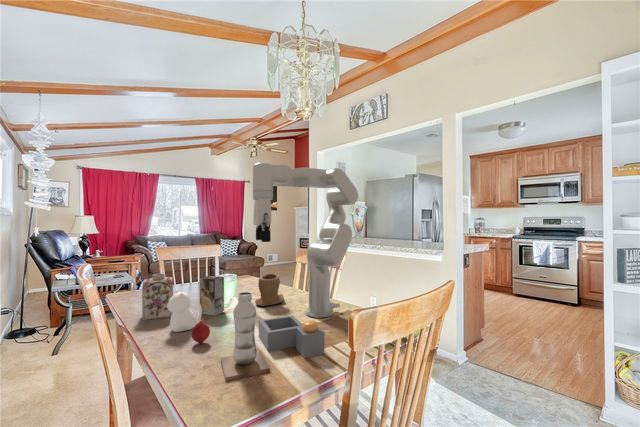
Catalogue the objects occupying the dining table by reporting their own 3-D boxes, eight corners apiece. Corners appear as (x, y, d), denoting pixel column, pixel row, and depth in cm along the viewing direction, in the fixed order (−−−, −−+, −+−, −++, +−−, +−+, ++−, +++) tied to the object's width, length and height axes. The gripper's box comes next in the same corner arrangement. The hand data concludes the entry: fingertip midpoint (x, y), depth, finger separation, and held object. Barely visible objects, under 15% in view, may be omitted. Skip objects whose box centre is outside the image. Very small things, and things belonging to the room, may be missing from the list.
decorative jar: (173, 309, 140) (173, 271, 140) (173, 316, 129) (173, 275, 130) (144, 312, 135) (144, 273, 135) (141, 321, 124) (141, 277, 124)
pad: (260, 353, 94) (260, 350, 94) (269, 371, 83) (269, 368, 83) (220, 361, 90) (220, 357, 90) (225, 381, 79) (225, 377, 79)
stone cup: (261, 309, 139) (261, 277, 139) (252, 303, 149) (252, 273, 149) (290, 304, 147) (290, 274, 147) (280, 299, 157) (280, 270, 157)
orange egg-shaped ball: (314, 337, 99) (314, 319, 99) (320, 343, 95) (320, 324, 95) (300, 340, 97) (300, 321, 97) (305, 346, 93) (305, 326, 93)
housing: (300, 329, 114) (300, 311, 114) (324, 353, 94) (324, 331, 94) (258, 336, 108) (258, 317, 108) (275, 364, 88) (275, 340, 88)
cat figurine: (164, 329, 115) (164, 290, 115) (197, 321, 123) (197, 285, 123) (171, 336, 108) (170, 295, 108) (205, 327, 116) (205, 289, 116)
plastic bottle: (251, 369, 83) (251, 297, 83) (228, 366, 84) (229, 295, 84) (260, 358, 89) (260, 291, 89) (239, 356, 91) (239, 290, 91)
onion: (198, 348, 98) (198, 324, 98) (187, 344, 101) (187, 321, 101) (213, 342, 103) (213, 319, 103) (202, 338, 106) (202, 316, 106)
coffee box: (224, 311, 136) (224, 276, 136) (215, 316, 130) (215, 279, 130) (209, 309, 139) (209, 275, 140) (198, 313, 133) (198, 277, 134)
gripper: (248, 197, 120) (248, 239, 120) (258, 194, 104) (257, 243, 104) (267, 197, 123) (267, 239, 123) (278, 194, 107) (278, 242, 107)
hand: (262, 240), depth 113 cm, fingers open, 9 cm apart
